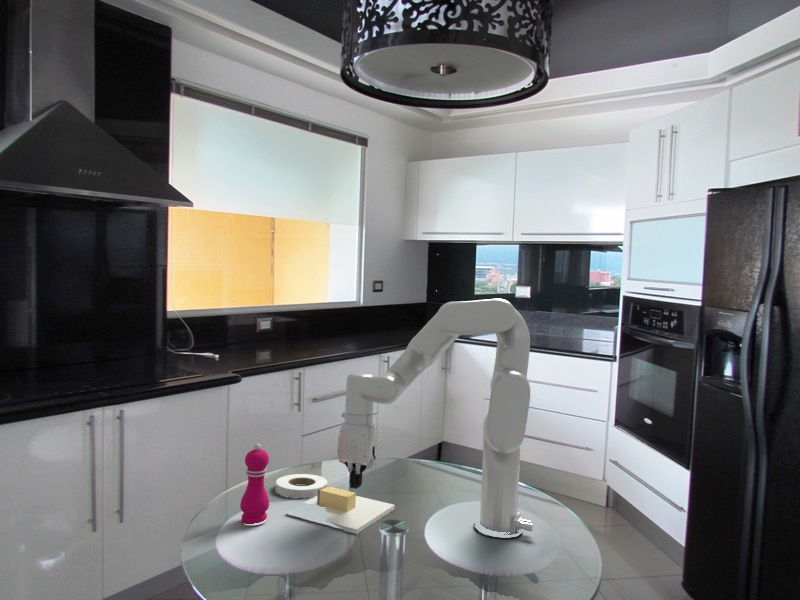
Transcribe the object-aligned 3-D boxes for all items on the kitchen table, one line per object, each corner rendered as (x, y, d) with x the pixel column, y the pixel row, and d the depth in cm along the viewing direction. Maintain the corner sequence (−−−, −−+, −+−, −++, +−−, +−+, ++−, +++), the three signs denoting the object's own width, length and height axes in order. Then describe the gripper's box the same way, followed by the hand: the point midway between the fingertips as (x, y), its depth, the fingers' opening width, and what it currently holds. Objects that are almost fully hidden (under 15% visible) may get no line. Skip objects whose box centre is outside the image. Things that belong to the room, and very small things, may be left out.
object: (306, 479, 176) (307, 470, 176) (337, 492, 165) (337, 482, 165) (265, 489, 165) (265, 479, 165) (294, 503, 154) (295, 493, 154)
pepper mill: (239, 528, 135) (243, 447, 135) (239, 517, 142) (243, 440, 142) (269, 526, 137) (272, 446, 137) (268, 515, 144) (271, 439, 144)
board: (394, 509, 152) (394, 504, 152) (356, 534, 135) (356, 529, 135) (329, 493, 163) (329, 489, 163) (286, 514, 145) (286, 510, 145)
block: (355, 493, 149) (326, 485, 154) (347, 497, 146) (317, 489, 150) (355, 507, 149) (325, 499, 154) (347, 512, 146) (317, 504, 150)
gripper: (327, 417, 147) (324, 485, 147) (375, 425, 140) (372, 496, 140) (343, 413, 154) (340, 478, 154) (389, 420, 147) (386, 488, 147)
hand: (355, 486), depth 147 cm, fingers closed
